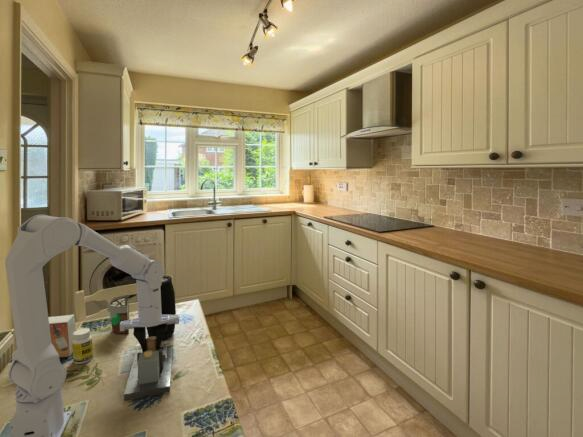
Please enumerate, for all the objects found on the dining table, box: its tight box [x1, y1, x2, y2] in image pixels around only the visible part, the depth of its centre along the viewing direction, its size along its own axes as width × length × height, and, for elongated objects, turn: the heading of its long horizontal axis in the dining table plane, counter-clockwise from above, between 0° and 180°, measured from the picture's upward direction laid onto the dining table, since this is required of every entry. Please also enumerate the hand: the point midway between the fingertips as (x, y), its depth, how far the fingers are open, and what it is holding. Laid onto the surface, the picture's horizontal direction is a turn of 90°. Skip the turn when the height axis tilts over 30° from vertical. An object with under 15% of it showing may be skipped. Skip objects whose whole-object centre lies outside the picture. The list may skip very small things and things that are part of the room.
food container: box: [106, 294, 131, 336], centre depth 108 cm, size 12×6×10 cm, turn 25°
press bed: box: [123, 343, 174, 401], centre depth 85 cm, size 20×10×3 cm, turn 18°
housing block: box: [138, 350, 160, 384], centre depth 80 cm, size 4×4×7 cm
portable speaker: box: [146, 275, 177, 342], centre depth 103 cm, size 9×9×20 cm
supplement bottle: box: [72, 328, 94, 365], centre depth 90 cm, size 5×5×8 cm
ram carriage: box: [137, 336, 163, 369], centre depth 86 cm, size 7×6×6 cm
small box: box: [48, 314, 77, 358], centre depth 94 cm, size 8×6×10 cm
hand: (152, 351), depth 87 cm, fingers closed on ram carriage, 3 cm apart
